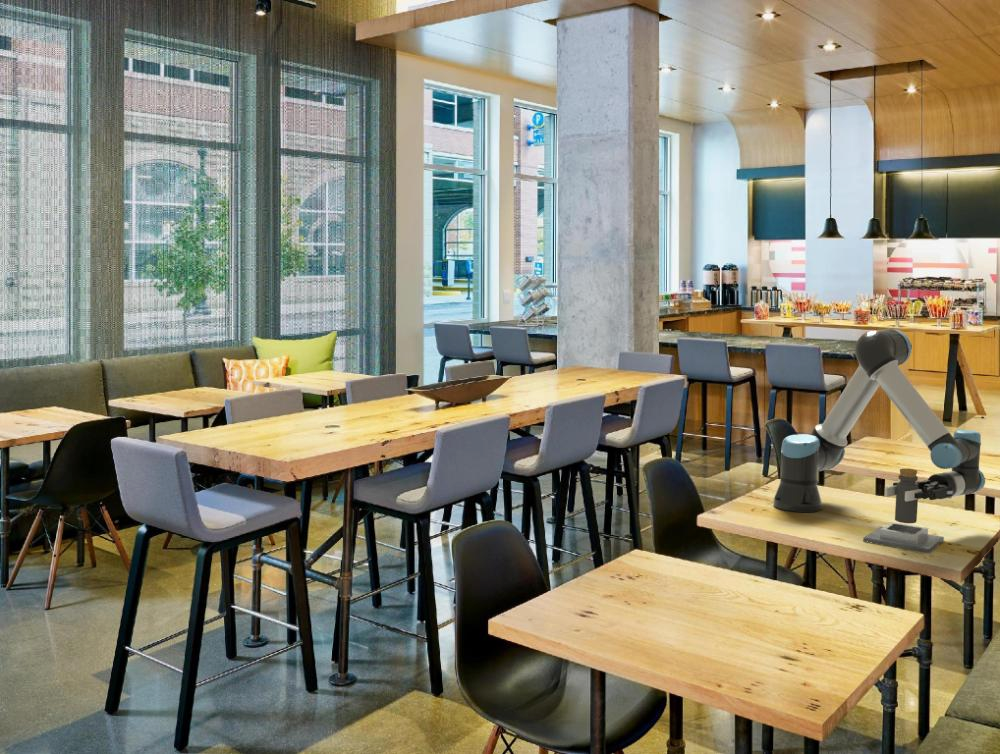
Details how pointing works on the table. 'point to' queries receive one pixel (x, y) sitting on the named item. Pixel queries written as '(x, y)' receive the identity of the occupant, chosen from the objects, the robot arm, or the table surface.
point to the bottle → (904, 509)
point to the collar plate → (904, 537)
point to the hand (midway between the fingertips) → (896, 494)
